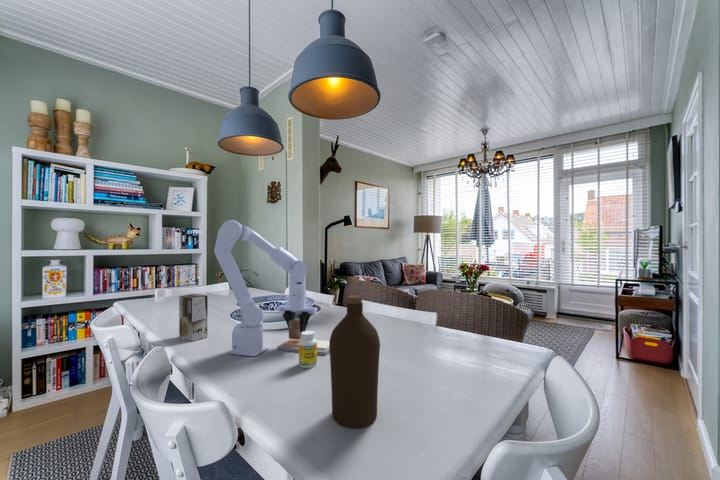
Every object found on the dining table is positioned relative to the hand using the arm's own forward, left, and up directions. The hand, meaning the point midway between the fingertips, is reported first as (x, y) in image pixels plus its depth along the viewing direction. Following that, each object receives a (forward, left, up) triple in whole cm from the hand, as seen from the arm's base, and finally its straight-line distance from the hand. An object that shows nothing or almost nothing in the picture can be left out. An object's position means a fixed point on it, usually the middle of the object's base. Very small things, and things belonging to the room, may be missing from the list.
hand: (297, 332), depth 108 cm
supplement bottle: (+12, -14, -5) cm, 19 cm away
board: (+5, 0, -4) cm, 6 cm away
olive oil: (+34, -35, -5) cm, 49 cm away
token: (0, 0, -2) cm, 2 cm away
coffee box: (-42, -4, -5) cm, 43 cm away
